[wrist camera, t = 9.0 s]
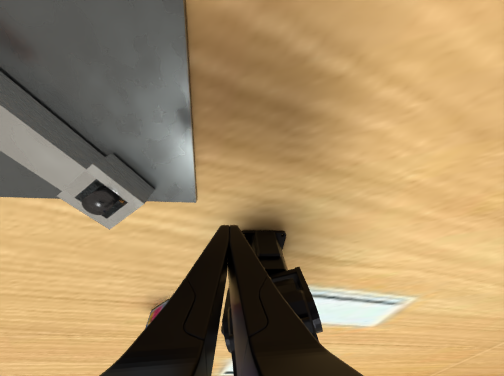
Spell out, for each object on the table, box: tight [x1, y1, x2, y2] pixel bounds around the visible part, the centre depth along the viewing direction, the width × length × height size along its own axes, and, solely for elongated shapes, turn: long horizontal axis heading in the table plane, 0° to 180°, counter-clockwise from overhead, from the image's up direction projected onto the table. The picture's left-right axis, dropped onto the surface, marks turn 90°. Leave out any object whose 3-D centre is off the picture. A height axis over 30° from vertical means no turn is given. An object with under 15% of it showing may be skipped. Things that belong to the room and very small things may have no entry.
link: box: [0, 71, 155, 230], centre depth 15 cm, size 18×5×3 cm, turn 34°
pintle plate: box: [0, 0, 197, 215], centre depth 14 cm, size 19×22×5 cm
